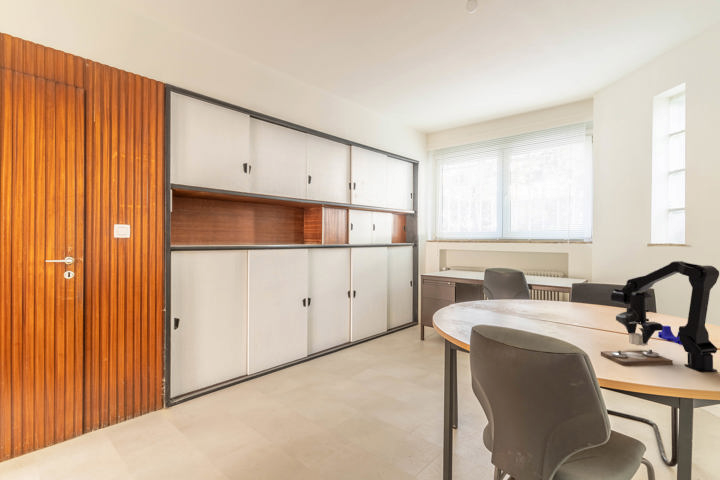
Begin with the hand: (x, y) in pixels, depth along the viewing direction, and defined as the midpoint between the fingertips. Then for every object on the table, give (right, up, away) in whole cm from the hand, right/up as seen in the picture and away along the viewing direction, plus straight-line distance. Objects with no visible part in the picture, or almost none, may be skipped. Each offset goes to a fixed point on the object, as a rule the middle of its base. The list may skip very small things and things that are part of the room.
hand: (638, 341), depth 150 cm
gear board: (-11, -4, -11) cm, 16 cm away
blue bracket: (+27, -4, +12) cm, 30 cm away
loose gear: (0, -1, 0) cm, 1 cm away
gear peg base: (-11, -3, -11) cm, 16 cm away
